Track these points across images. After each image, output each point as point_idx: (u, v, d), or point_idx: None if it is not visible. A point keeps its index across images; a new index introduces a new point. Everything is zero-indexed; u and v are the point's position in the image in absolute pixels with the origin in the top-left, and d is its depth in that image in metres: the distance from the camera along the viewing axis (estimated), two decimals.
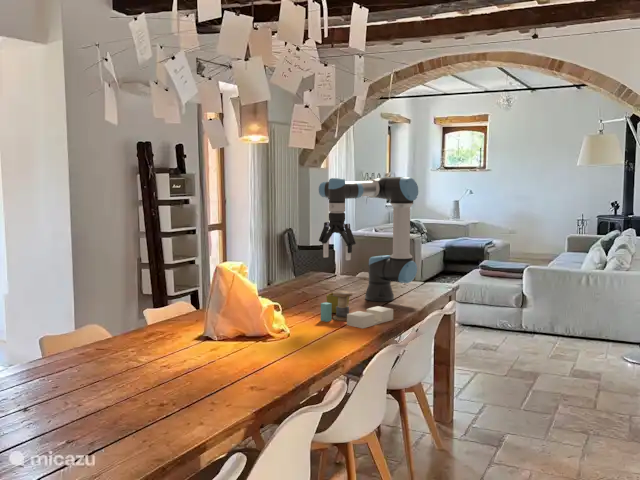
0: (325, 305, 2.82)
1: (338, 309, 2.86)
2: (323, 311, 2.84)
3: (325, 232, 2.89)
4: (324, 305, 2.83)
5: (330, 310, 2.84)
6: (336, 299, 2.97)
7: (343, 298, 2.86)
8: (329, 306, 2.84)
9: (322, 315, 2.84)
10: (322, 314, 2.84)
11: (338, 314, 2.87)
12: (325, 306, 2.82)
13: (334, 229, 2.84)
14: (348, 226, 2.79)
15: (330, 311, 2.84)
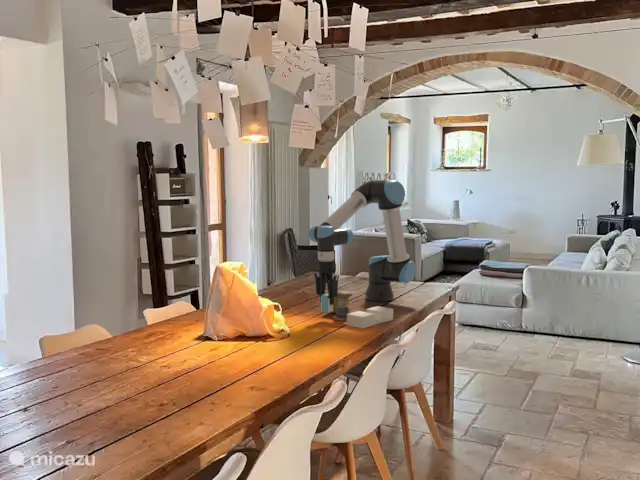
0: (326, 296, 2.82)
1: (338, 309, 2.86)
2: (324, 302, 2.84)
3: (319, 283, 2.87)
4: (325, 296, 2.83)
5: None
6: (336, 299, 2.97)
7: (343, 298, 2.86)
8: None
9: (323, 306, 2.84)
10: (323, 305, 2.84)
11: (338, 314, 2.87)
12: (326, 297, 2.82)
13: (324, 277, 2.83)
14: (336, 279, 2.79)
15: None
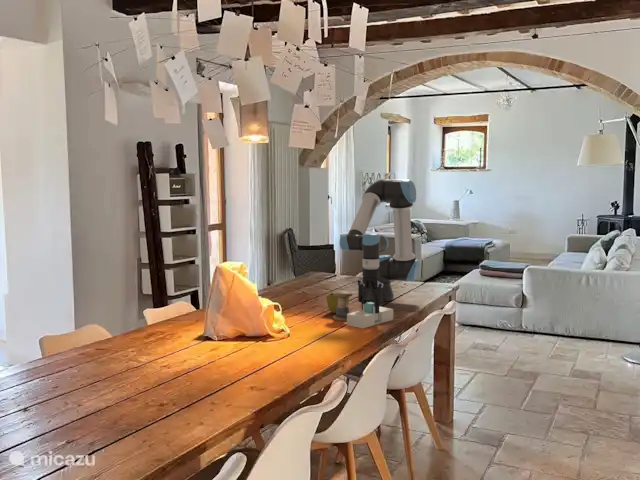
0: (370, 305, 2.79)
1: (338, 309, 2.86)
2: (367, 311, 2.80)
3: (362, 290, 2.83)
4: (369, 305, 2.79)
5: None
6: (336, 299, 2.97)
7: (343, 298, 2.86)
8: None
9: None
10: None
11: (338, 314, 2.87)
12: (370, 306, 2.79)
13: (368, 285, 2.79)
14: (382, 286, 2.75)
15: None
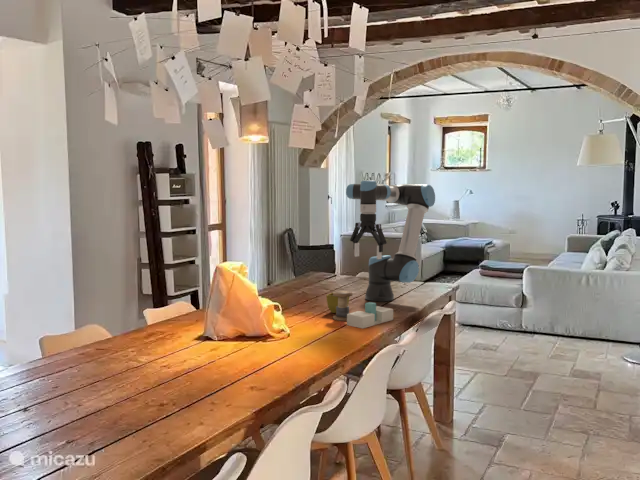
0: (370, 305, 2.79)
1: (338, 309, 2.86)
2: (367, 311, 2.80)
3: (356, 232, 3.01)
4: (369, 305, 2.79)
5: (375, 310, 2.81)
6: (336, 299, 2.97)
7: (343, 298, 2.86)
8: (374, 306, 2.80)
9: None
10: None
11: (338, 314, 2.87)
12: (370, 306, 2.79)
13: (365, 229, 2.96)
14: (379, 226, 2.91)
15: (374, 311, 2.81)
